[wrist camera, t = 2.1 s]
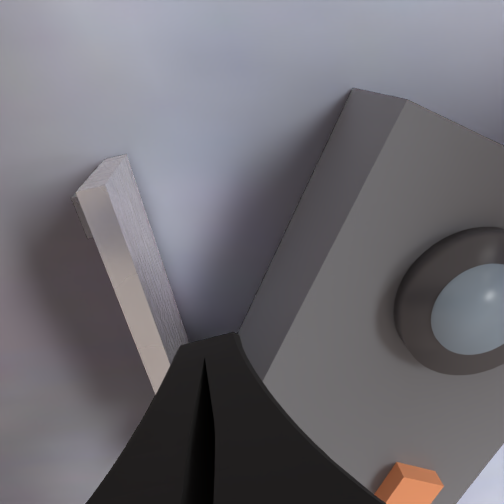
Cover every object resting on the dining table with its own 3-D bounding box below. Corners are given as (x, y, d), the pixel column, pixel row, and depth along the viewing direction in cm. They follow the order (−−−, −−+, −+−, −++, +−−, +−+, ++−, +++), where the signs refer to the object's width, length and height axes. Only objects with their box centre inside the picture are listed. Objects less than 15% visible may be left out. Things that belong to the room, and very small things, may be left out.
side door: (85, 163, 14) (49, 199, 10) (130, 152, 14) (108, 185, 10) (172, 395, 18) (166, 477, 14) (207, 386, 18) (209, 467, 14)
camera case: (352, 87, 14) (421, 102, 10) (567, 188, 16) (699, 236, 12) (197, 420, 19) (197, 528, 14) (381, 463, 21) (428, 568, 17)
